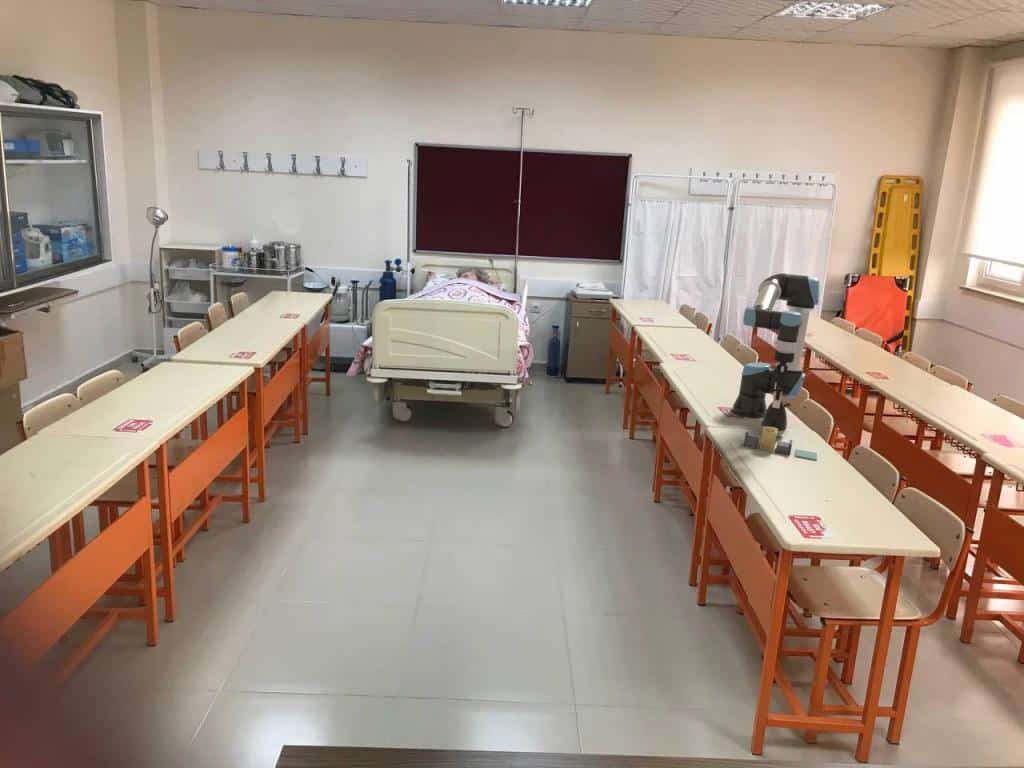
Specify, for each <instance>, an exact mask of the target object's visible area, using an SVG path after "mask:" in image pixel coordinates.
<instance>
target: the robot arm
mask: <svg viewBox="0 0 1024 768" xmlns="http://www.w3.org/2000/svg"><path fill="white" fill-rule="evenodd" d="M820 285H821V284H820V279H819V278H818V277H814V276H809V275H801V274H790V273H776V274H773V275H771V276H768V277H767V278H765V279H764V280H763V281H762V282H761V283H760V285H759V286H758V291H757V293H758V295H757V297H756V300H755V302H754V303H753V307H749V306H748V307H746V308H745V310H744V314H743V320H742V322H743V325H744V326H747V327H752V328H759V329H766V330H771V331H772V330H774V331H777V337H776V341H774V344H775V350H774V352H773V361H776V362H778V363H776V364H775V368H773V367H772V366H771V364H770V363H767V362H758V361H757V362H756V361H755V362H748V363H747V364H746V363H745V364H744V366H743V368H742V372H741V378H740V379H741V380H740V386H739V393H738V396H737V398H736V399H735V401H734V403H733V405H732V411H733V413H735V414H737V415H740V416H743V417H749V418H763V417H764V414H765V412H766V410H767V408H768V407H767V403H766V396H767V395H766V394H768V395H772V402H773V404H772V407H774V408H779V407H780V401H781V402H782V400H781V399H782V397H786V398H792V399H793V398H794V399H795V398H797V397H799V395H800V392H801V389H802V386H803V384H804V380H805V377H806V373H805V372H803V371H804V370H803V367H802V366H801V361H802V358H803V357H802V355H803V352H804V344H805V340H806V339H805V338H806V336H807V335H806V334H807V328H808V322H809V318H810V312H812V311H813V310H814V309H815V306H818V305H819V301H820V288H821V287H820ZM778 300H779V301H785V302H786V307H787V308H788V310H783V311H780V310H779V311H778V310H773V308H774V307H775V304H776V301H778Z"/></svg>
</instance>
